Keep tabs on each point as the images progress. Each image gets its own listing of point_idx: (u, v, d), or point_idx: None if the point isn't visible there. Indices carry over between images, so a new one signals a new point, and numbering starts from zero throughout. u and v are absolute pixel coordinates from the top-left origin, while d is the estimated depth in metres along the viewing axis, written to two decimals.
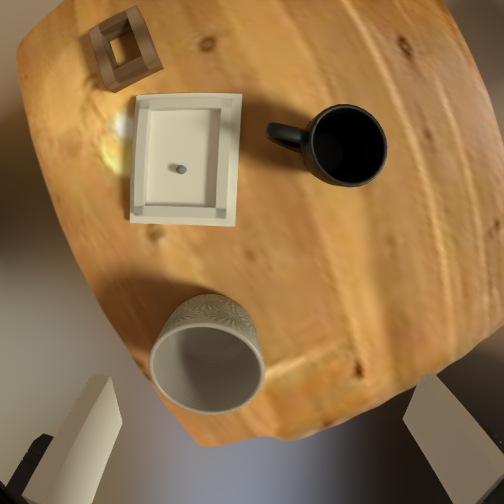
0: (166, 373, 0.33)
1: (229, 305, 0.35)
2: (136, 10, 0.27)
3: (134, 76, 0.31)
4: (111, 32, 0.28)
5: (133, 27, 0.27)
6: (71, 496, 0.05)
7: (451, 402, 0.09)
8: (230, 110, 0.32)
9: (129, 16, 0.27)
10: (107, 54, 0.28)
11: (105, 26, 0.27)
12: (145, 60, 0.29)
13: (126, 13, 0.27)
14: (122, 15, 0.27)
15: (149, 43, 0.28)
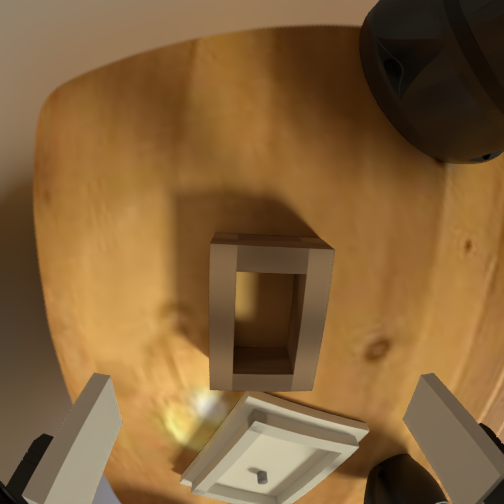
0: None
1: None
2: (330, 267, 0.17)
3: None
4: None
5: (306, 309, 0.18)
6: (71, 496, 0.05)
7: (451, 402, 0.09)
8: (348, 456, 0.23)
9: (310, 274, 0.17)
10: (233, 332, 0.18)
11: (252, 264, 0.17)
12: (294, 385, 0.19)
13: (308, 259, 0.17)
14: (297, 259, 0.17)
15: (316, 359, 0.19)
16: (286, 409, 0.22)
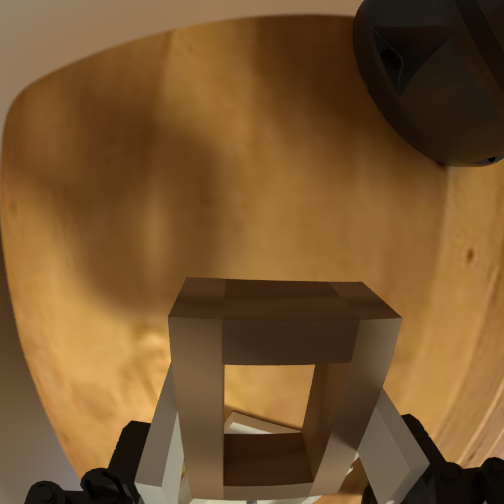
0: None
1: None
2: (390, 347, 0.09)
3: None
4: None
5: (343, 410, 0.09)
6: (172, 476, 0.07)
7: None
8: None
9: (357, 361, 0.09)
10: (221, 443, 0.10)
11: (252, 352, 0.08)
12: (314, 491, 0.11)
13: (356, 338, 0.09)
14: (337, 340, 0.09)
15: (348, 464, 0.10)
16: None
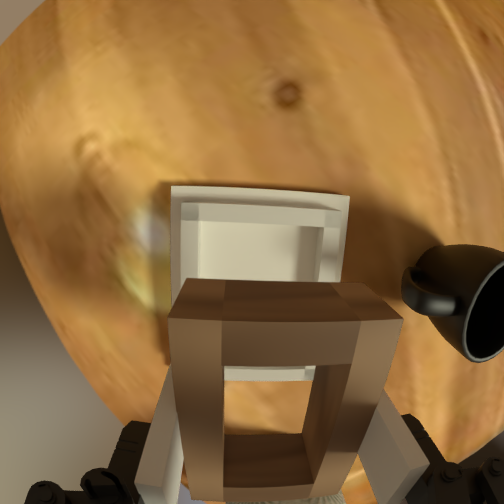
0: None
1: None
2: (391, 348, 0.09)
3: None
4: None
5: (344, 412, 0.09)
6: (172, 476, 0.07)
7: None
8: (337, 232, 0.21)
9: (358, 363, 0.09)
10: None
11: (252, 353, 0.08)
12: (314, 492, 0.11)
13: (357, 339, 0.09)
14: (338, 340, 0.08)
15: (349, 465, 0.10)
16: (219, 188, 0.21)
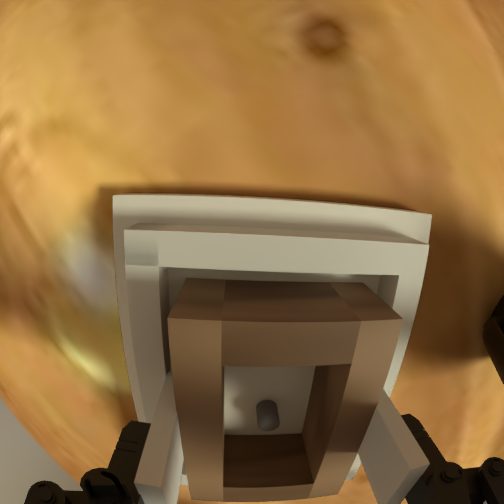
0: None
1: None
2: (391, 348, 0.09)
3: None
4: None
5: (344, 412, 0.09)
6: (172, 476, 0.07)
7: None
8: (419, 282, 0.10)
9: (358, 363, 0.09)
10: None
11: (252, 353, 0.08)
12: (314, 492, 0.11)
13: (357, 339, 0.09)
14: (338, 341, 0.08)
15: (349, 465, 0.10)
16: (202, 197, 0.11)
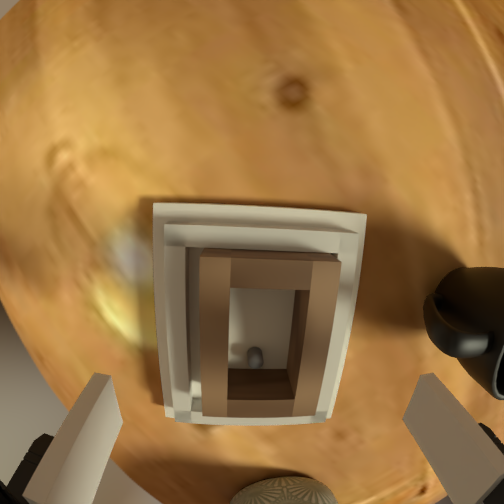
0: None
1: (317, 503, 0.19)
2: (336, 282, 0.15)
3: None
4: None
5: (309, 328, 0.16)
6: (72, 496, 0.05)
7: (451, 402, 0.09)
8: (354, 258, 0.17)
9: (314, 290, 0.15)
10: (227, 356, 0.16)
11: (248, 279, 0.15)
12: (296, 410, 0.17)
13: (312, 273, 0.15)
14: (300, 273, 0.15)
15: (319, 382, 0.16)
16: (211, 205, 0.17)
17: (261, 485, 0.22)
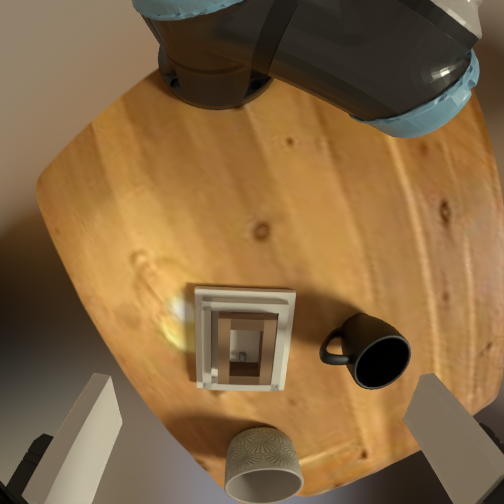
0: (231, 482, 0.39)
1: (278, 442, 0.41)
2: (274, 328, 0.36)
3: None
4: None
5: (264, 346, 0.37)
6: (71, 496, 0.05)
7: (451, 402, 0.09)
8: (286, 315, 0.38)
9: (265, 331, 0.36)
10: (229, 356, 0.37)
11: (238, 326, 0.36)
12: (260, 382, 0.38)
13: (264, 324, 0.36)
14: (259, 324, 0.36)
15: (270, 369, 0.38)
16: (222, 290, 0.39)
17: (247, 431, 0.44)
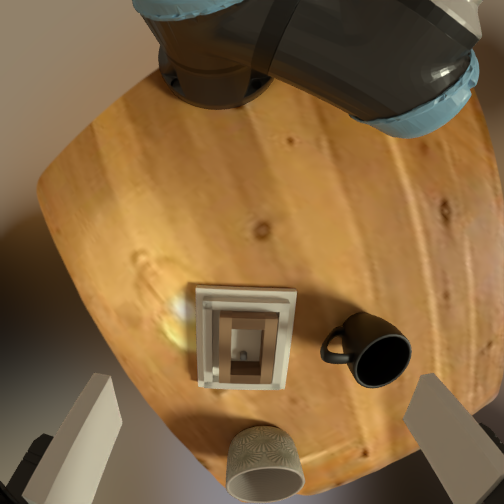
0: (233, 481, 0.40)
1: (279, 440, 0.41)
2: (275, 326, 0.36)
3: None
4: None
5: (265, 345, 0.37)
6: (71, 496, 0.05)
7: (451, 402, 0.09)
8: (287, 314, 0.38)
9: (266, 330, 0.36)
10: (230, 355, 0.37)
11: (239, 325, 0.36)
12: (261, 380, 0.38)
13: (265, 323, 0.36)
14: (260, 323, 0.36)
15: (271, 368, 0.38)
16: (223, 289, 0.39)
17: (249, 429, 0.44)
